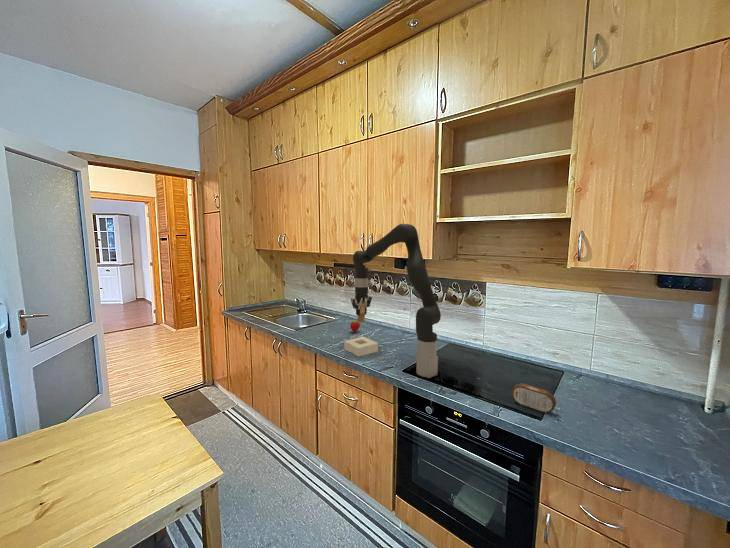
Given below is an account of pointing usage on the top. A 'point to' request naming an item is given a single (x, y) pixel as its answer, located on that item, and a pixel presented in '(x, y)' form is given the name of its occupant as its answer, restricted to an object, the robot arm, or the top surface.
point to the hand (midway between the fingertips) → (361, 314)
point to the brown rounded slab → (534, 398)
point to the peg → (362, 312)
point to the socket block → (361, 346)
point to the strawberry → (355, 326)
